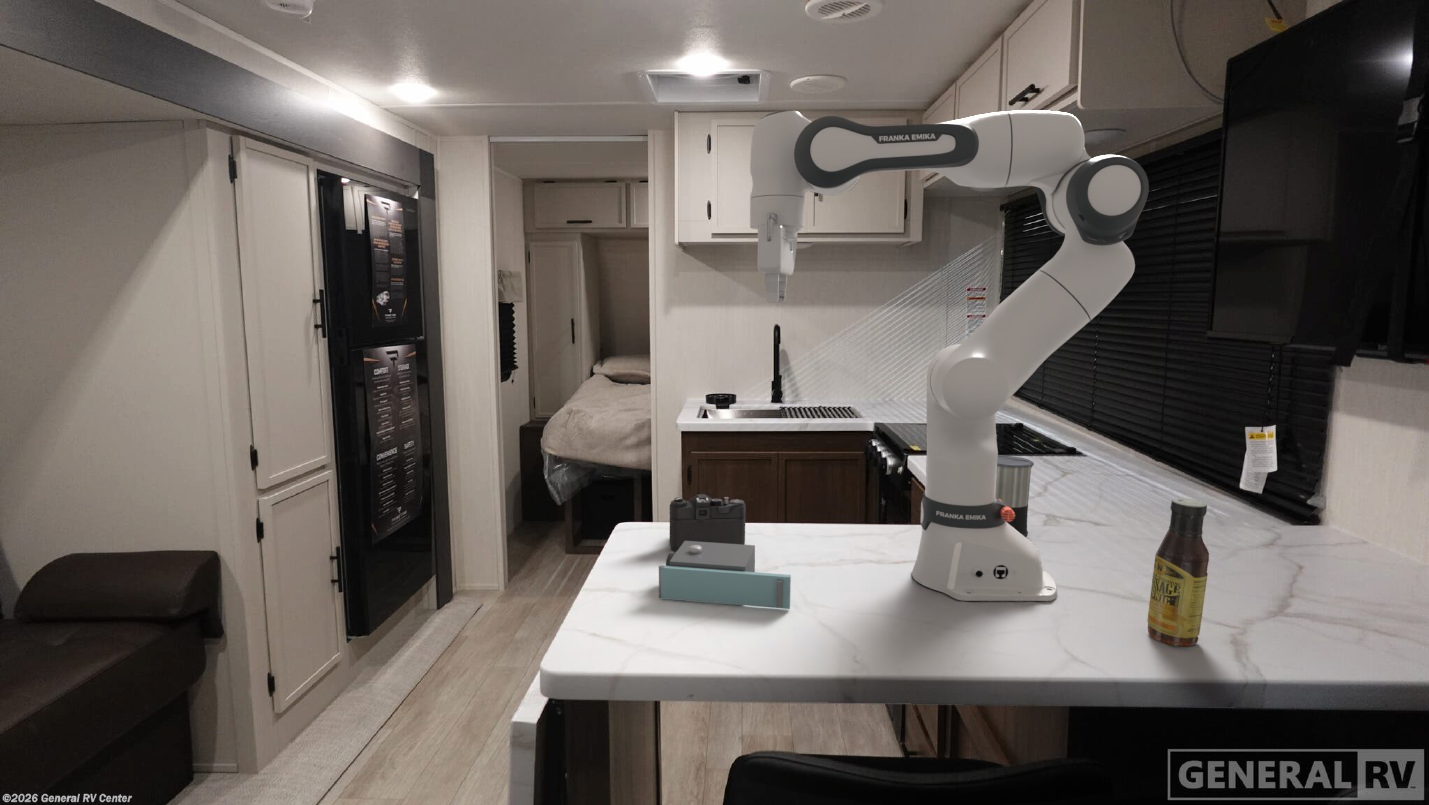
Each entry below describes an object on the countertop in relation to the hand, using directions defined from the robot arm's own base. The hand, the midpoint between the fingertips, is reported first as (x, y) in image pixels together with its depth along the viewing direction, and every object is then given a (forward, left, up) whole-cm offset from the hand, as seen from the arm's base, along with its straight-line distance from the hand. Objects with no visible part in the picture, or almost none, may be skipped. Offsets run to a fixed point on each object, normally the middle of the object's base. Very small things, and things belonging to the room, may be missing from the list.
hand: (776, 302), depth 124 cm
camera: (+14, -11, -46) cm, 50 cm away
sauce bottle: (-58, +16, -46) cm, 76 cm away
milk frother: (-41, -26, -46) cm, 67 cm away
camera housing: (+8, +11, -46) cm, 48 cm away
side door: (+6, +17, -46) cm, 49 cm away
